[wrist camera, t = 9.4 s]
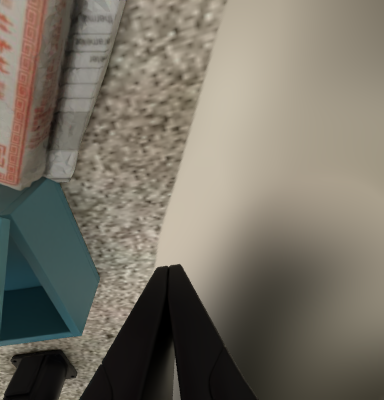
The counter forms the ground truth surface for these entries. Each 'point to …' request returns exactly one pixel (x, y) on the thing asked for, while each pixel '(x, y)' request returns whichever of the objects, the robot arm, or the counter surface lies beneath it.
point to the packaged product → (50, 82)
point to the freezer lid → (3, 257)
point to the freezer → (44, 266)
